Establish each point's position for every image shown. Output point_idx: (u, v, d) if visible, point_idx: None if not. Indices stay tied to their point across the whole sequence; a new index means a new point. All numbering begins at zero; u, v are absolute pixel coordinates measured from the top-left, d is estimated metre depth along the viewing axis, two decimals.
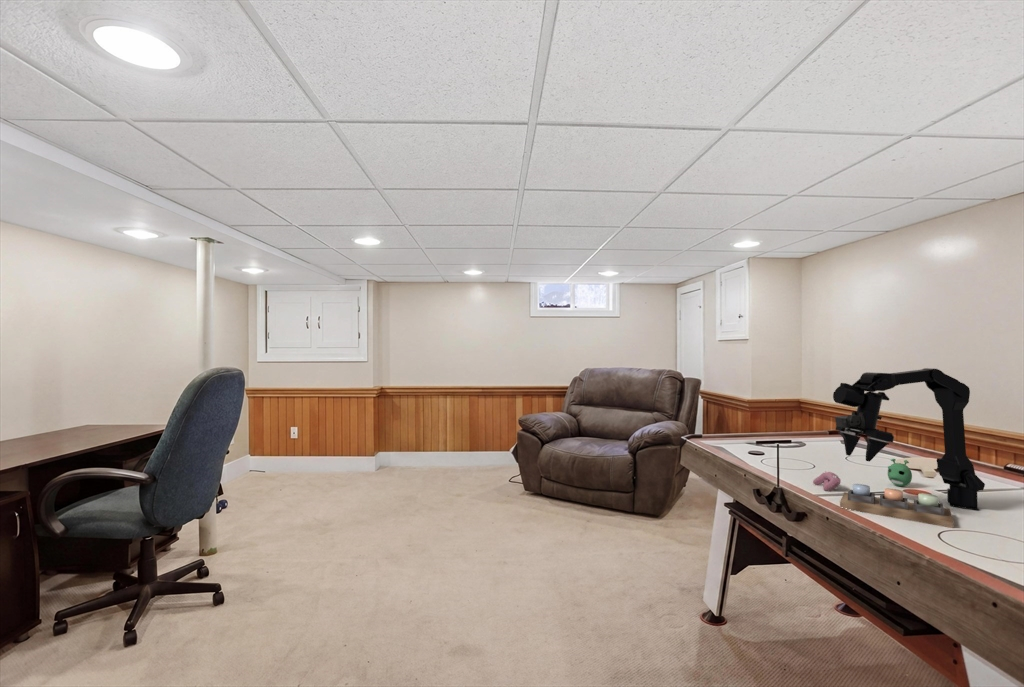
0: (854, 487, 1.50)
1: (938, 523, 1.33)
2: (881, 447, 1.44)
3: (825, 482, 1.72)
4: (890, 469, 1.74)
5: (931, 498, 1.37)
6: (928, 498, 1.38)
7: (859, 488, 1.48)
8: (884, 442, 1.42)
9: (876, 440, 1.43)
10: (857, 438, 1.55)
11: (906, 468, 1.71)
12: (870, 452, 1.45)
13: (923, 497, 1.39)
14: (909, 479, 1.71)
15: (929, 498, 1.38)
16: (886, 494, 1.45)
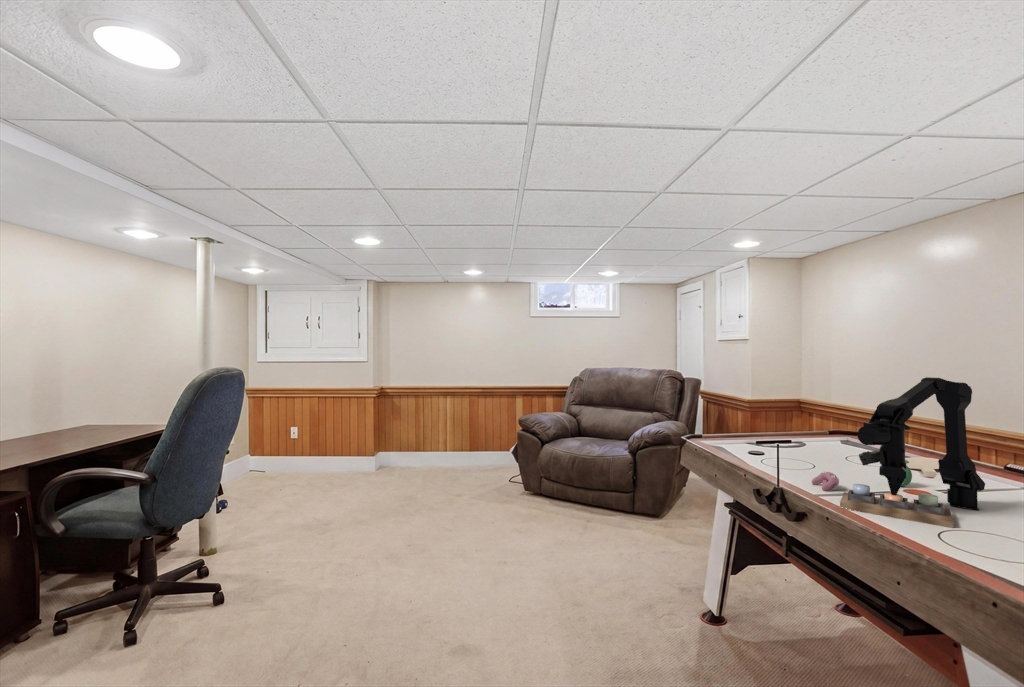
0: (854, 487, 1.50)
1: (938, 523, 1.33)
2: (901, 480, 1.42)
3: (823, 482, 1.72)
4: None
5: (931, 498, 1.37)
6: (928, 498, 1.38)
7: (859, 488, 1.48)
8: None
9: None
10: None
11: (906, 468, 1.71)
12: (891, 486, 1.44)
13: (923, 497, 1.39)
14: (909, 479, 1.71)
15: (929, 498, 1.38)
16: None
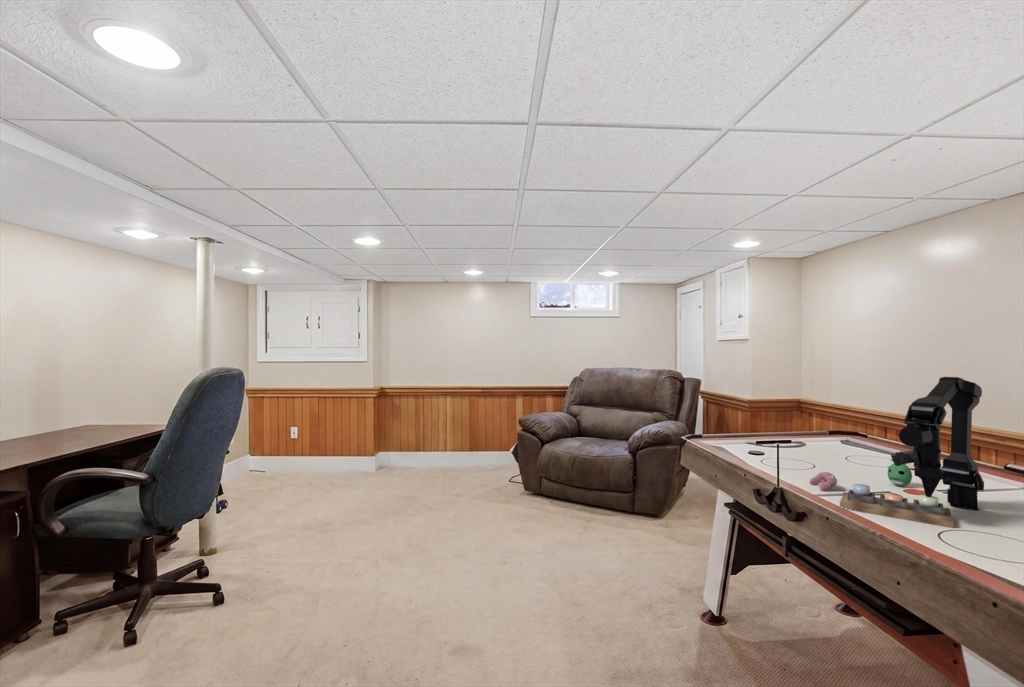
0: (854, 487, 1.50)
1: (938, 523, 1.33)
2: (936, 481, 1.37)
3: (822, 482, 1.72)
4: (890, 469, 1.74)
5: (931, 499, 1.37)
6: (928, 499, 1.38)
7: (859, 488, 1.48)
8: None
9: None
10: None
11: (906, 468, 1.71)
12: (926, 487, 1.39)
13: (923, 498, 1.39)
14: (909, 479, 1.71)
15: (929, 499, 1.38)
16: None
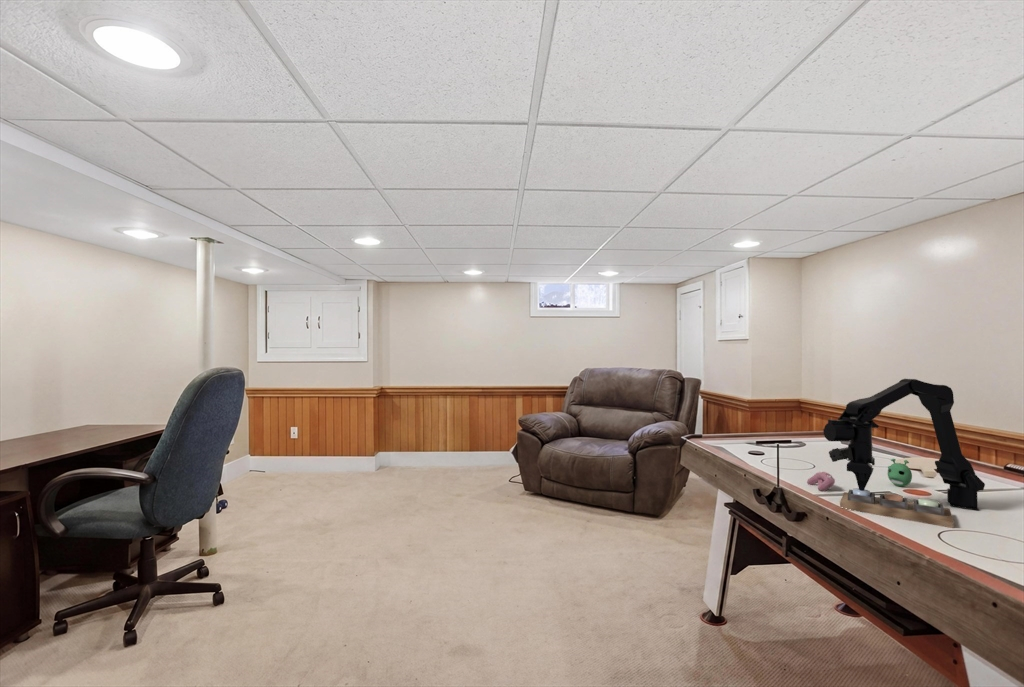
0: (854, 492, 1.50)
1: (938, 523, 1.33)
2: (868, 476, 1.47)
3: (819, 482, 1.72)
4: (890, 469, 1.74)
5: (931, 503, 1.37)
6: (928, 503, 1.38)
7: (859, 493, 1.48)
8: None
9: None
10: None
11: (906, 468, 1.71)
12: (859, 482, 1.49)
13: (923, 502, 1.39)
14: (909, 479, 1.71)
15: (929, 503, 1.38)
16: None
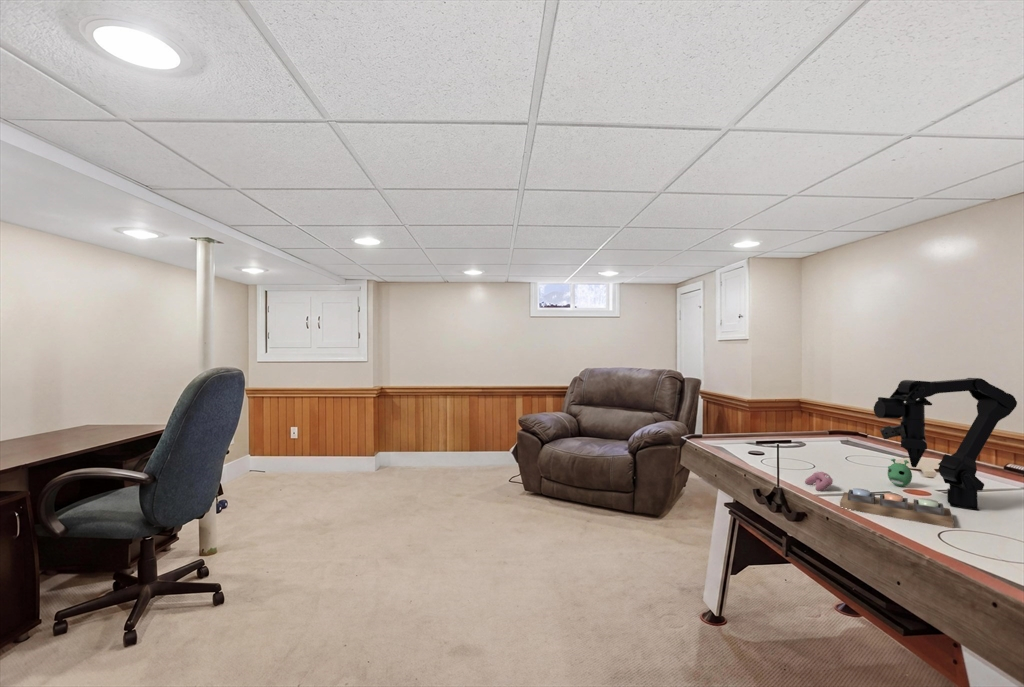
0: (854, 492, 1.50)
1: (938, 523, 1.33)
2: (921, 452, 1.50)
3: (817, 482, 1.72)
4: (890, 469, 1.74)
5: (931, 503, 1.37)
6: (928, 503, 1.38)
7: (859, 493, 1.48)
8: None
9: None
10: None
11: (906, 468, 1.71)
12: (912, 458, 1.52)
13: (923, 502, 1.39)
14: (909, 479, 1.71)
15: (929, 503, 1.38)
16: None
